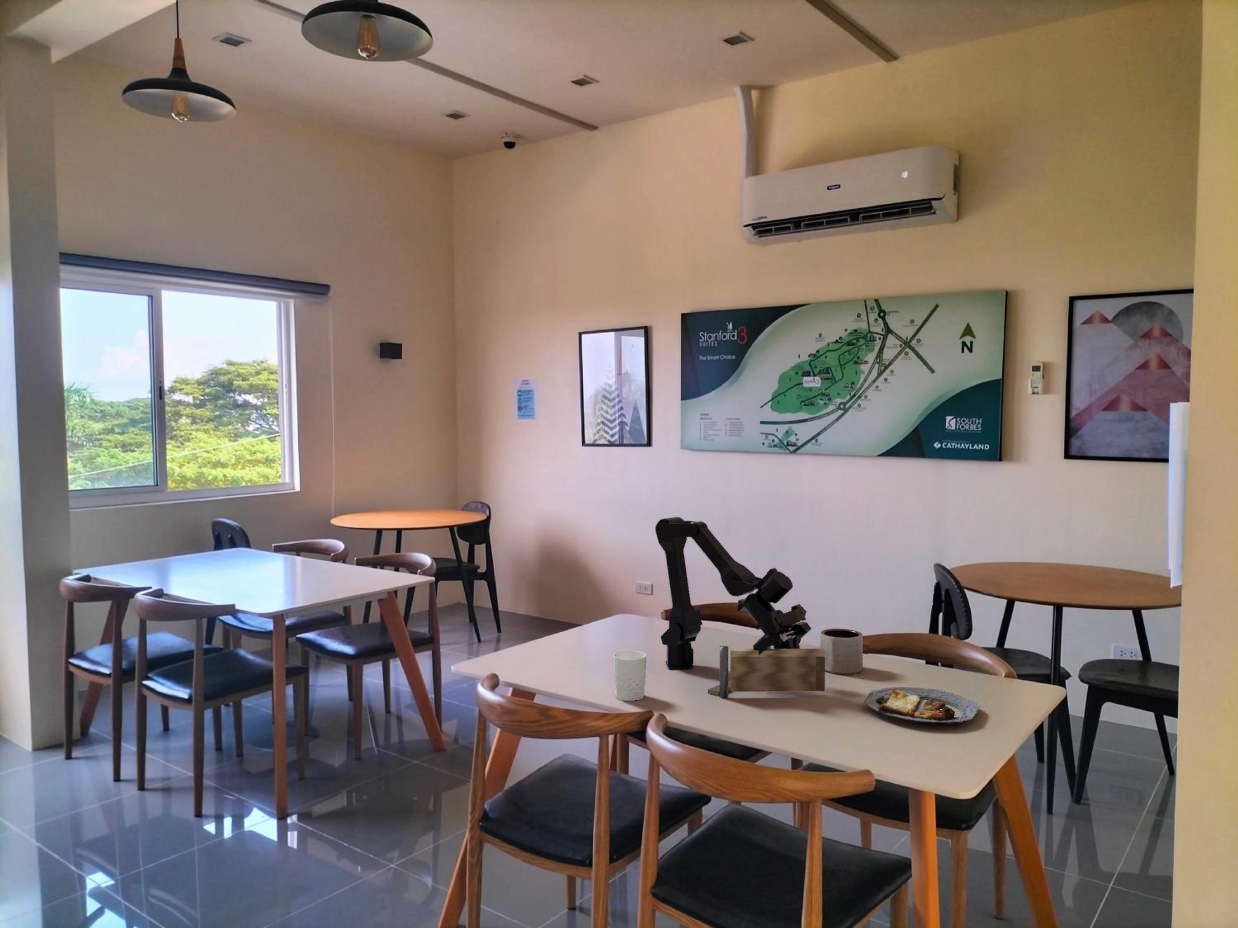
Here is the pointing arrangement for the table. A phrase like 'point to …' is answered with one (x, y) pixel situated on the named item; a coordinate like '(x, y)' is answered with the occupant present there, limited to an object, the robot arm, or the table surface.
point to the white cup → (629, 675)
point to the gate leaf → (777, 670)
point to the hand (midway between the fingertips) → (804, 667)
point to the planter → (842, 650)
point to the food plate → (908, 706)
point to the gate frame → (723, 675)
